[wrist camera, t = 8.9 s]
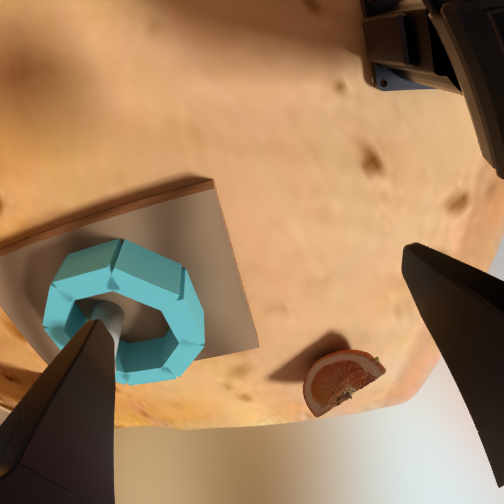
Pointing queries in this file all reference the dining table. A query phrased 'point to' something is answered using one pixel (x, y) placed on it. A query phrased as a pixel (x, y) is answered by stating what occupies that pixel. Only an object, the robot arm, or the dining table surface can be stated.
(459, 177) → the dining table surface
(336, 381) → the fruit slice
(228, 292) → the hook board
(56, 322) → the teal octagonal ring
